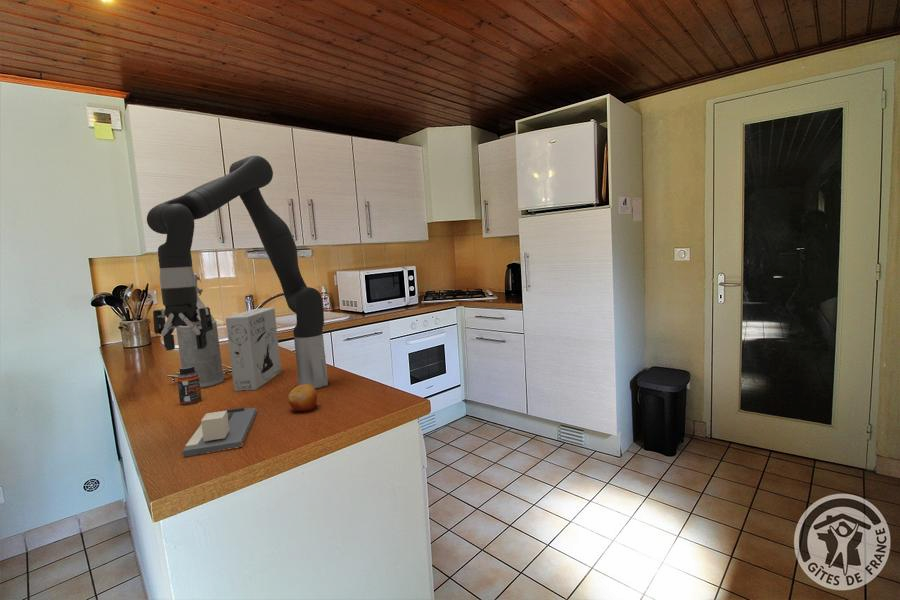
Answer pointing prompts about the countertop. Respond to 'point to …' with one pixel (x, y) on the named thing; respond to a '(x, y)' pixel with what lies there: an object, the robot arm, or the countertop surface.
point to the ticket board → (234, 438)
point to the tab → (215, 425)
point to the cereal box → (253, 348)
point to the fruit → (303, 398)
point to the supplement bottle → (188, 385)
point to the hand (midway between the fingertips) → (186, 349)
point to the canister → (201, 350)
